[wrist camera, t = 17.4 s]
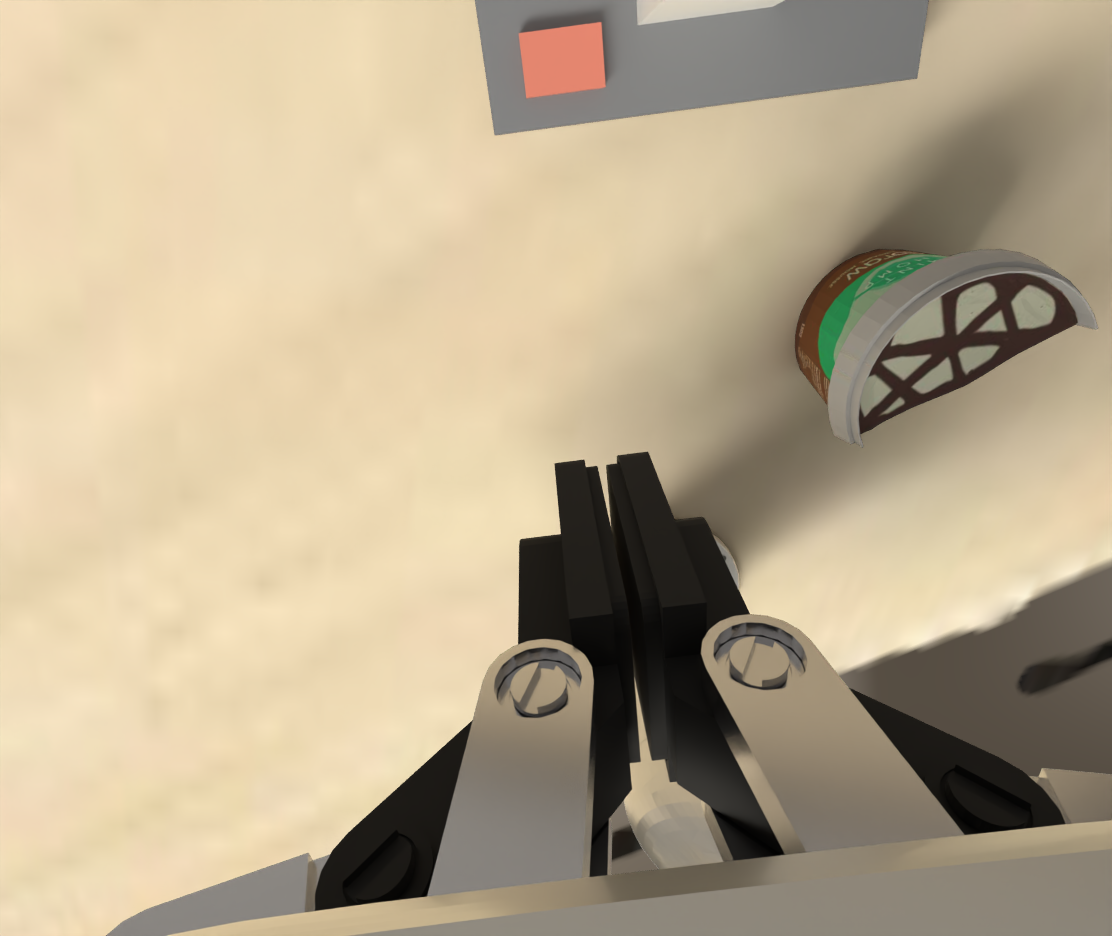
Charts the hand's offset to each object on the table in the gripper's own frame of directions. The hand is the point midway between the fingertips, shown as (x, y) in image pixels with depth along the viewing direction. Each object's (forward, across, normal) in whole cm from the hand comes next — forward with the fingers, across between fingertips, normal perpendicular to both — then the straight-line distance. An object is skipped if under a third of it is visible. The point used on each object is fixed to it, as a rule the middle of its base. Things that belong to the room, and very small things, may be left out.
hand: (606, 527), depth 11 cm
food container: (+27, -18, +4) cm, 33 cm away
